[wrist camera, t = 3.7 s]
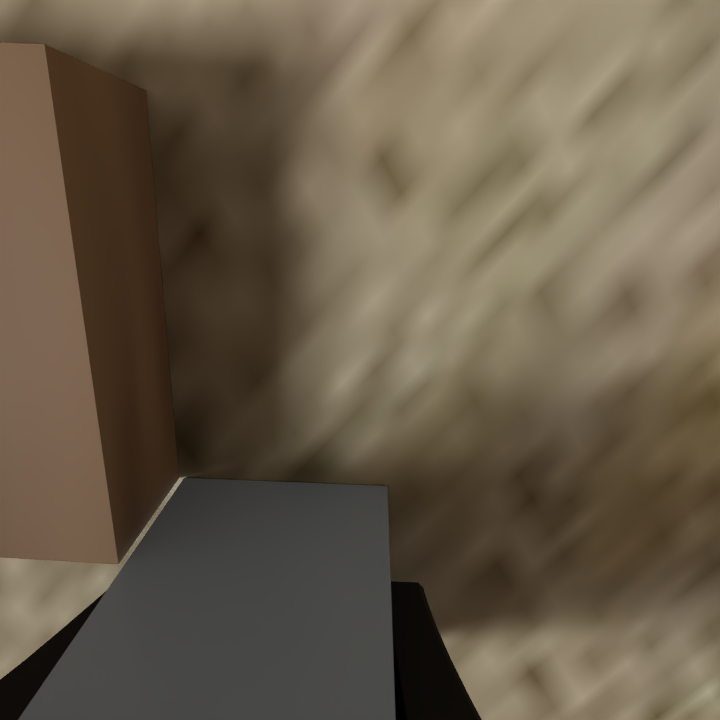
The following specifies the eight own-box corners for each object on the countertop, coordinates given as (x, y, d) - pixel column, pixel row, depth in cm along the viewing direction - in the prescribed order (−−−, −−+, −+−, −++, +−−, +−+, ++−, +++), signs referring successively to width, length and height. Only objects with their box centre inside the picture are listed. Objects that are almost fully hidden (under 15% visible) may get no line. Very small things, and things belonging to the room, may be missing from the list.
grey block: (394, 480, 10) (415, 820, 5) (385, 647, 12) (393, 1059, 6) (176, 471, 11) (-60, 795, 5) (194, 638, 12) (31, 1035, 6)
